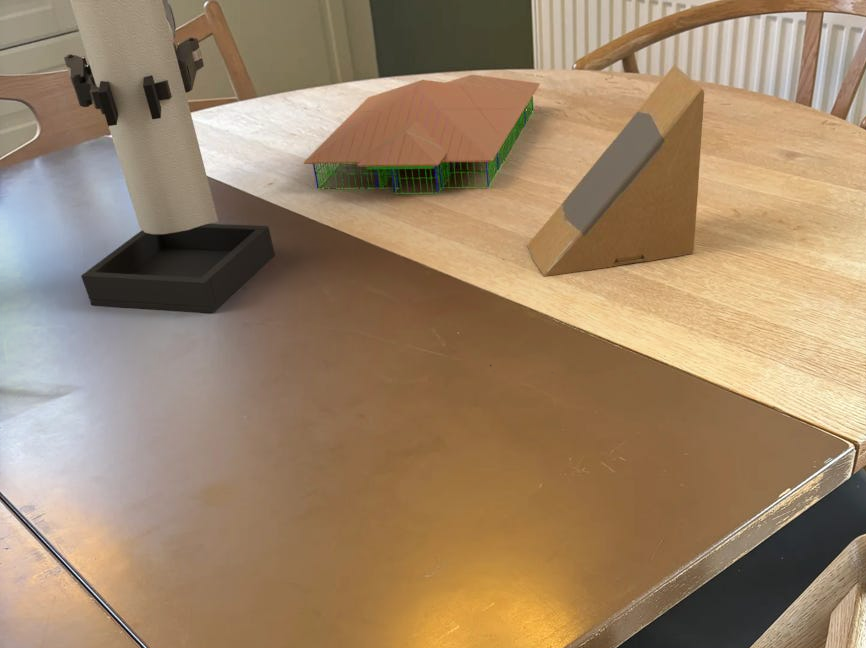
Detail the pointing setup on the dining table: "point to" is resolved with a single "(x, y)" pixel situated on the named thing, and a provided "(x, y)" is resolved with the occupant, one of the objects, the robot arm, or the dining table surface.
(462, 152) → the house
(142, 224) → the paper towel roll
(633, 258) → the sandwich container
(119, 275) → the roll dock
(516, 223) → the dining table surface
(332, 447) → the dining table surface
